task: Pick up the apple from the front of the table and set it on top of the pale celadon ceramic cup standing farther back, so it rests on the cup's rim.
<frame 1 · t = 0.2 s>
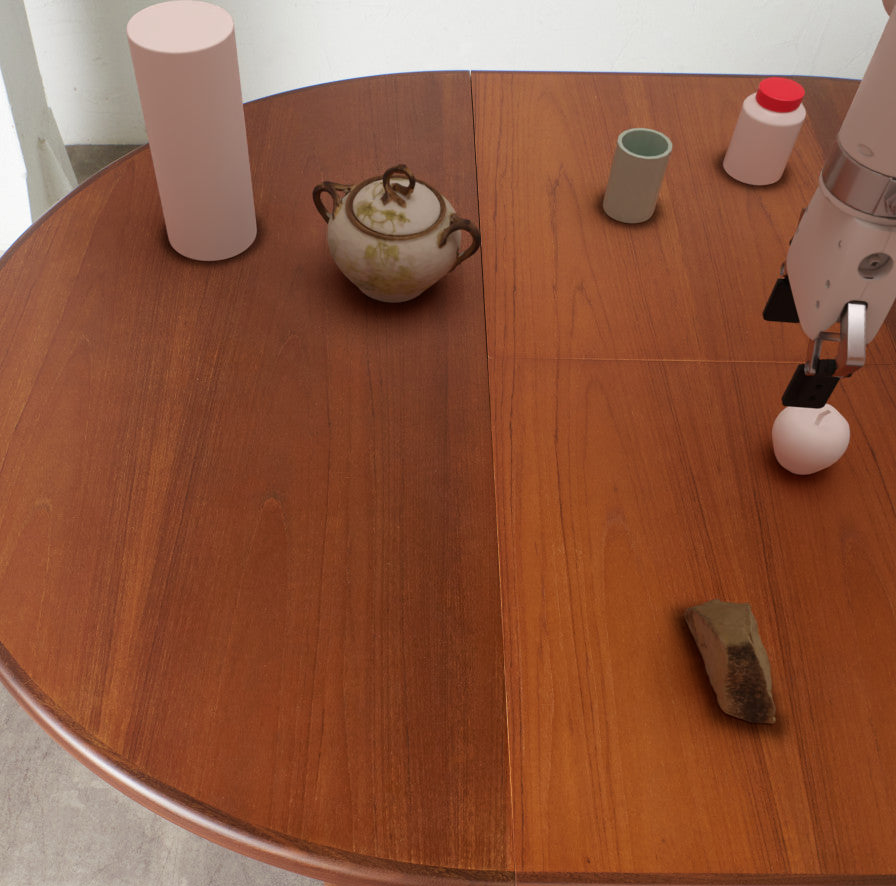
hand: (790, 360, 76), 19 cm above the table, tool pointing down, fingers open, 9 cm apart
tall pillar cylinder: (213, 234, 114), on the table
apple: (795, 460, 94), on the table
rock: (723, 666, 80), on the table
sugar bowl: (393, 281, 110), on the table
cup: (627, 207, 118), on the table
pill bottle: (752, 169, 124), on the table
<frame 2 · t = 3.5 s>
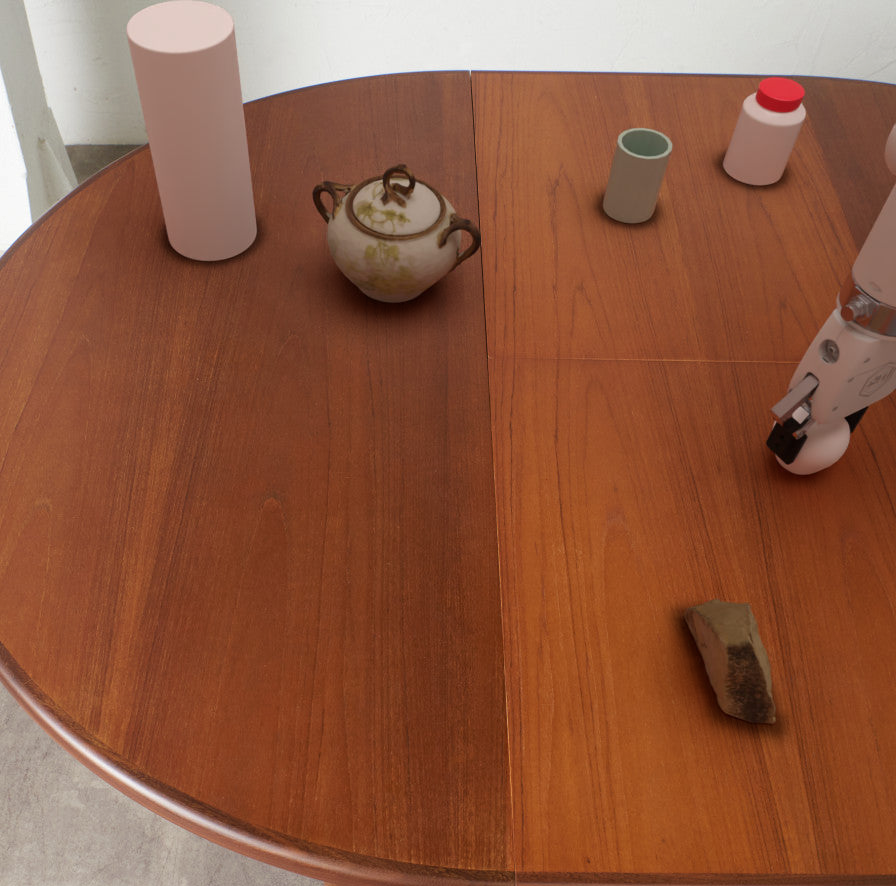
hand: (808, 438, 92), 3 cm above the table, tool pointing down, fingers closed on apple, 7 cm apart
apple: (795, 460, 94), on the table, touching gripper
everything else where it was.
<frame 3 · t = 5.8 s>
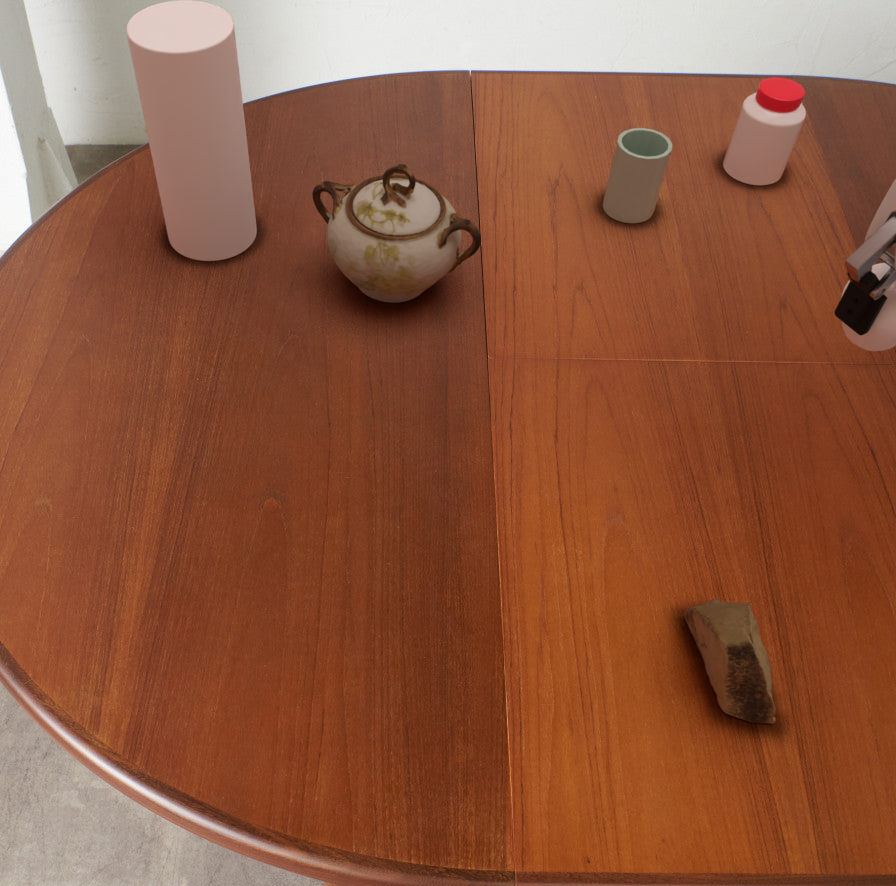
hand: (884, 307, 79), 19 cm above the table, tool pointing down, fingers closed on apple, 7 cm apart
apple: (867, 337, 82), point 16 cm above the table, touching gripper
everything else where it was.
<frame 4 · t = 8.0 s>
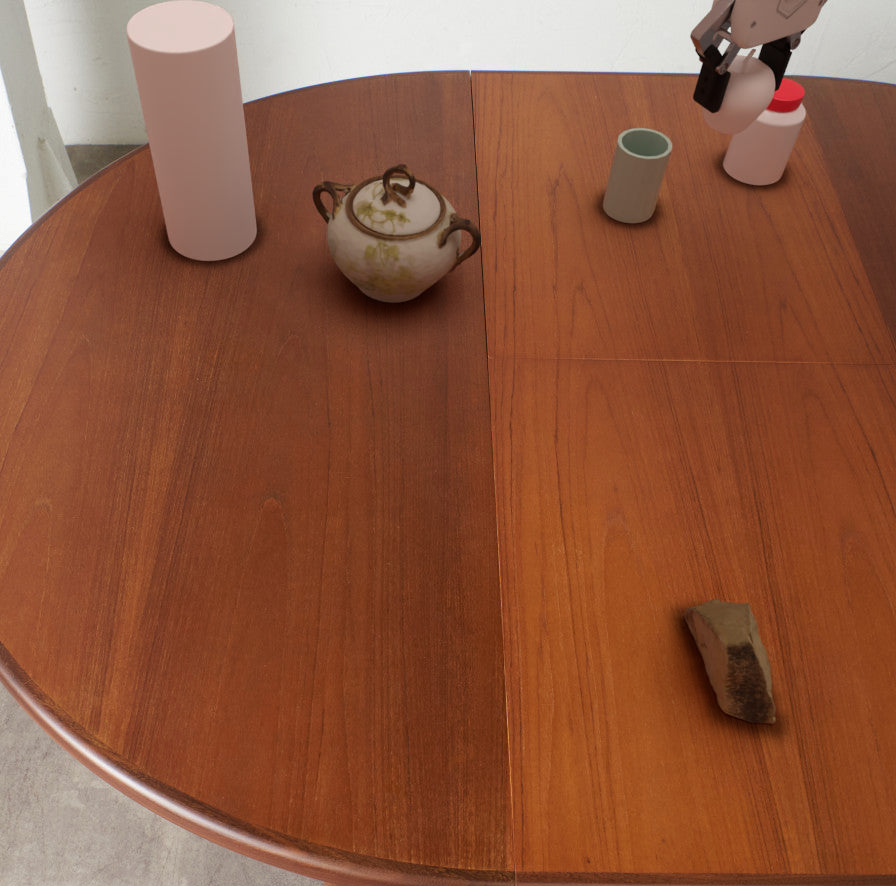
hand: (735, 94, 93), 23 cm above the table, tool pointing down, fingers closed on apple, 7 cm apart
apple: (725, 126, 95), point 19 cm above the table, touching gripper
everything else where it was.
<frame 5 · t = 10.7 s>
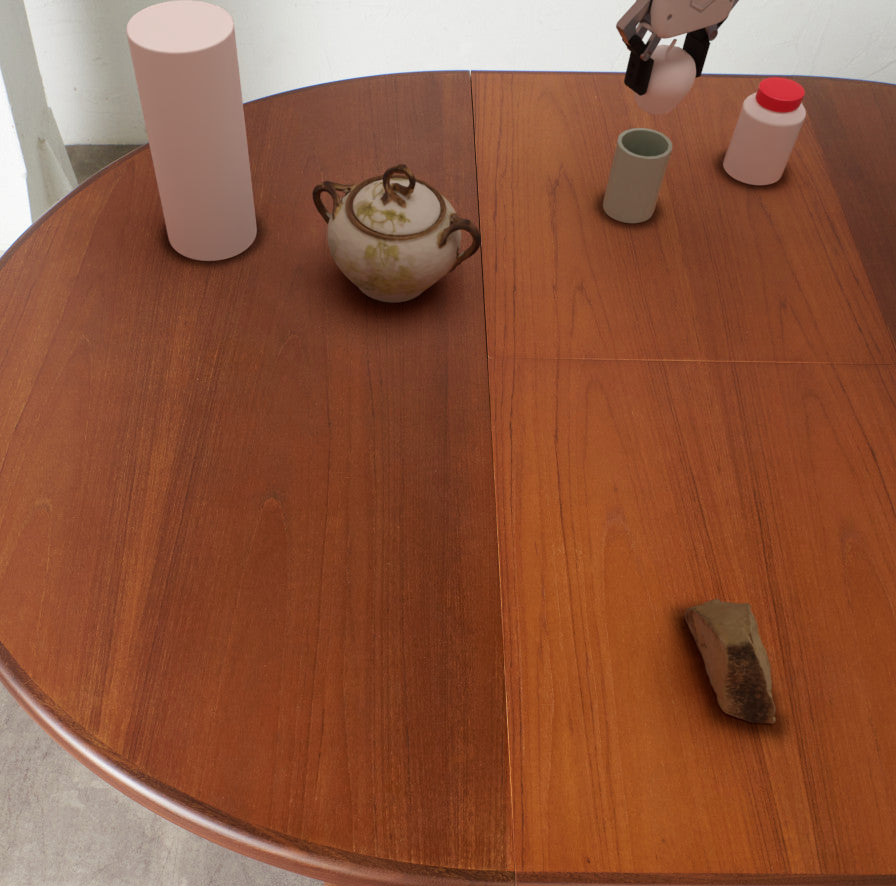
hand: (662, 79, 105), 17 cm above the table, tool pointing down, fingers closed on apple, 7 cm apart
apple: (654, 108, 108), point 13 cm above the table, touching gripper
everything else where it was.
when the fingers open (12 cm above the table, at t = 12.8 s): apple stays where it is, resting on cup.
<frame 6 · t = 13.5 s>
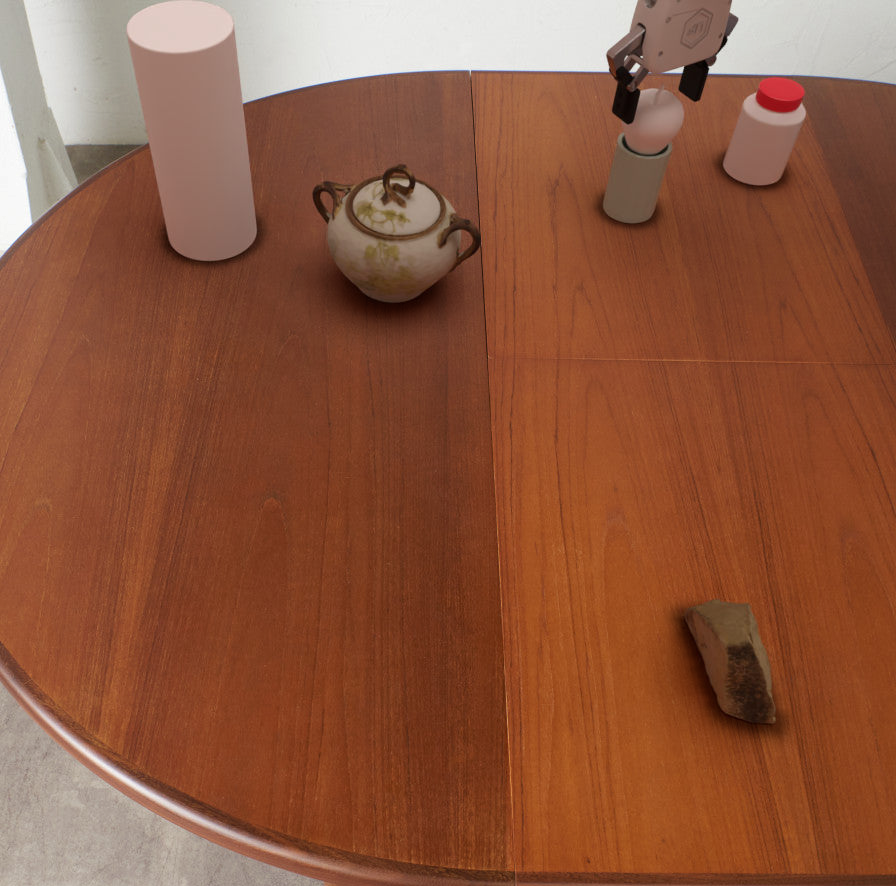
hand: (655, 106, 108), 14 cm above the table, tool pointing down, fingers open, 9 cm apart
apple: (644, 148, 112), point 8 cm above the table, touching cup
everything else where it was.
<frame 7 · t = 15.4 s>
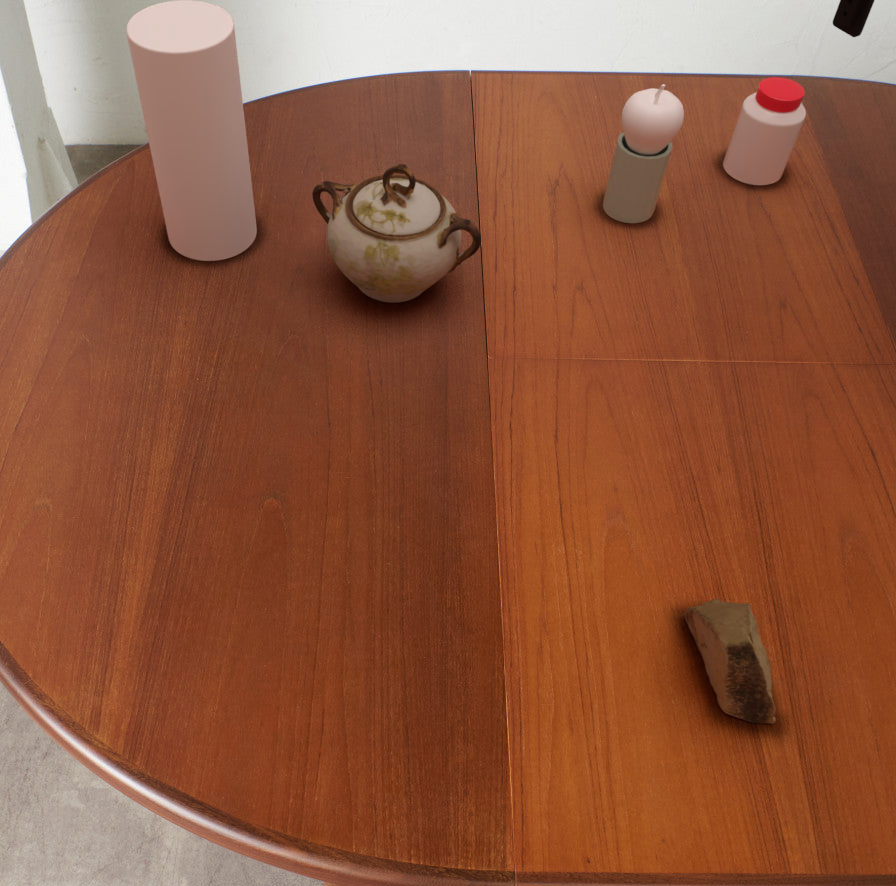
hand: (881, 18, 93), 27 cm above the table, tool pointing down, fingers open, 9 cm apart
nothing on the table moved.
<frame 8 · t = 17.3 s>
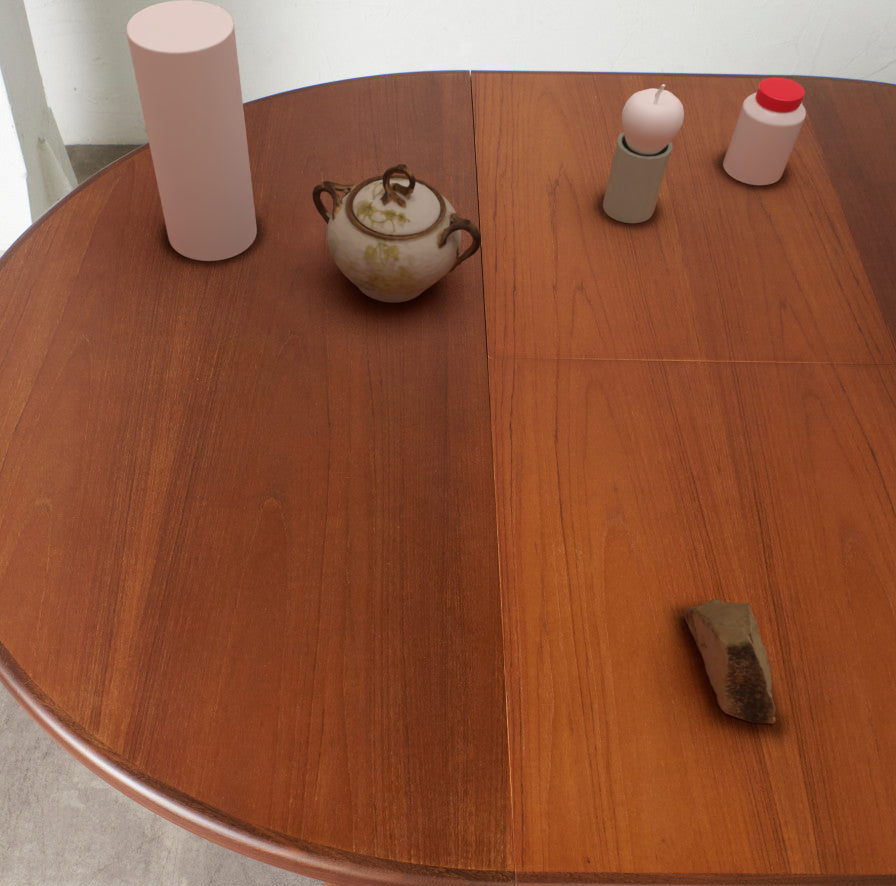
nothing on the table moved.
at the end: apple 0.1 cm off-centre in the cup, point 8.3 cm above the cup's base; apple touching cup; the gripper is holding nothing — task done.
